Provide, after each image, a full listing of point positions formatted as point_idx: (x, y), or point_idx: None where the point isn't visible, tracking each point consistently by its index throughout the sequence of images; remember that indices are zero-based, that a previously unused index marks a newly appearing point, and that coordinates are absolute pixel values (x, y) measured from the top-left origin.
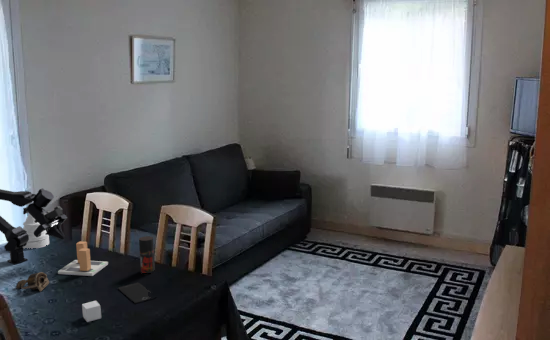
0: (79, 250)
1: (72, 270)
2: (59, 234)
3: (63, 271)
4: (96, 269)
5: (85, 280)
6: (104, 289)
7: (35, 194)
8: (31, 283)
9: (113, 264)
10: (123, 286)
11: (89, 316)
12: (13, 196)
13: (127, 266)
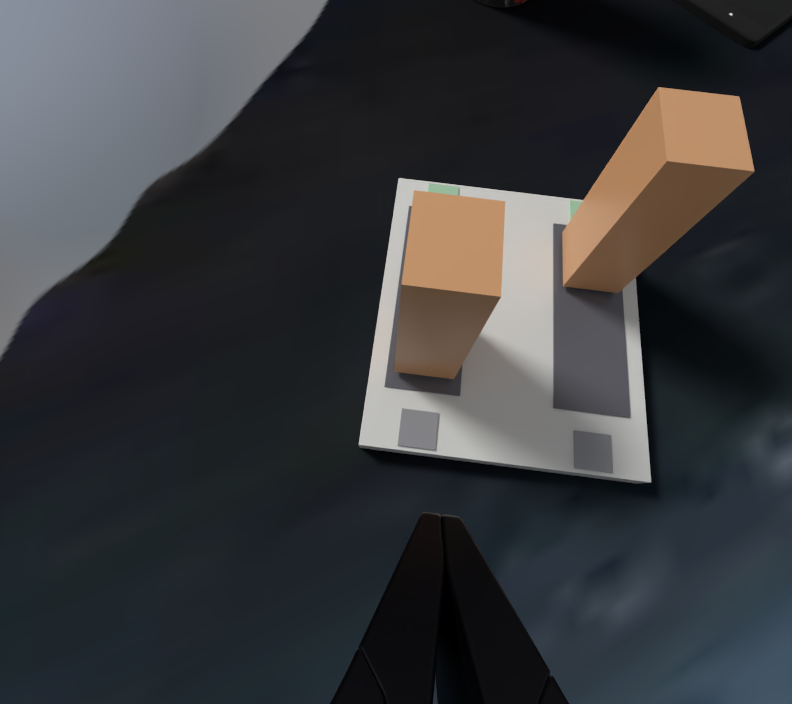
0: (747, 161)
1: (613, 359)
2: (522, 642)
3: (645, 427)
4: (556, 202)
5: (697, 234)
6: (780, 101)
7: None
8: None
9: (398, 160)
10: (734, 23)
11: None
12: None
13: (429, 81)
